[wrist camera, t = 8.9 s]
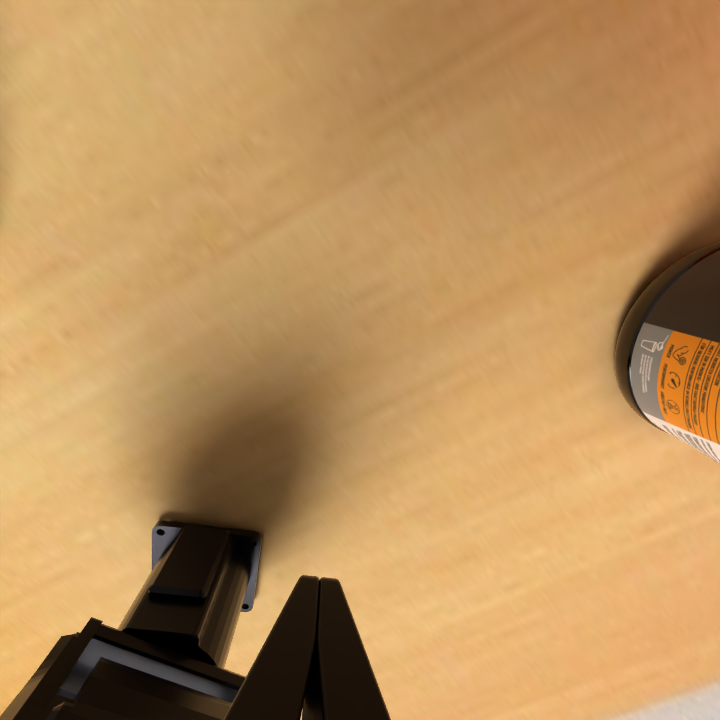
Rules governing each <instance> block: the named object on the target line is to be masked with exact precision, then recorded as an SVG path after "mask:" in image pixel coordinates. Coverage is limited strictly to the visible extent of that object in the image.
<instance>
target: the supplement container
mask: <svg viewBox="0 0 720 720" xmlns="http://www.w3.org/2000/svg"><path fill="white" fill-rule="evenodd" d="M615 373H616V379H617V383H618V386H619V388H620V391H621V393H622V395H623V397H624V398H625V400H626V402H627V403H628V404H629V406H630V407H631V408H632V409H633V410H634V411H635V412H636V413H637V414H638V415H639V416H640V417H641V418H643V419H644V420H645V421H647V422H648V423H650V424H651V425H653V426H655V427H656V428H658V429H660V430H662V431H665V432H667V433H669V434H671V435H673V436H674V437H676V438H678V439H679V440H681V441H683V442H684V443H686V444H688V445H690V446H691V447H693V448H695V449H696V450H698V451H700V452H701V453H703V454H705V455H706V456H708V457H710V458H711V459H713V460H715V461H716V462H718V463H720V241H719V242H716V243H714V244H711V245H708V246H705V247H703V248H701V249H699V250H696V251H694V252H692V253H690V254H688V255H687V256H685V257H683V258H681V259H680V260H678V261H677V262H675V263H674V264H672V265H671V266H670V267H668V268H667V269H666V270H665V271H663V272H662V273H661V274H660V275H659V276H658V277H657V278H655V279H654V280H653V281H652V282H651V283H650V284H649V285H648V287H647V288H646V289H645V290H644V291H643V292H642V293H641V295H640V296H639V297H638V299H637V300H636V301H635V303H634V304H633V306H632V308H631V309H630V311H629V313H628V315H627V316H626V318H625V320H624V323H623V325H622V327H621V330H620V333H619V336H618V340H617V344H616V350H615Z"/></svg>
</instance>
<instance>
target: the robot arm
mask: <svg viewBox="0 0 720 720" xmlns="http://www.w3.org/2000/svg"><path fill="white" fill-rule="evenodd" d="M161 529H162V530H161ZM252 540H255V541H252ZM261 546H262V536H261V534H259V533H258V532H253V531H244V530H236V529H228V528H220V527H211V526H203V525H195V524H187V523H178V522H170V521H159V522H158V523H157V524H156V525H155V526H154V528H153V530H152V572H151V574H150V575H149V577H148V579H147V580H146V582H145V584H144V585H143V587H142V589H141V590H140V592H139V594H138V595H137V597H136V599H135V601H134V602H133V604H132V606H131V607H130V609H129V611H128V612H127V614H126V616H125V617H124V619H123V621H122V622H121V624H120V626H119V628H118V629H115V628H112V627H109V626H107V625H104V624H101V623H102V622H103V621H101V620H98V619H95V618H93V617H91V619H90V620H89V622H88V623H87V624H86V626H85V627H84V629H83V630H82V632H81V633H79V632H77V633H76V634H72V635H66V636H61V638H60V639H59V640H58V642H57V643H56V645H55V646H54V647H53V649H52V650H51V651H50V653H49V654H48V656H47V657H46V658H45V660H44V661H43V663H42V664H41V665H40V667H39V668H38V669H37V671H36V672H35V673H34V675H33V676H32V677H31V679H30V680H29V681H28V683H27V684H26V685H25V686H24V688H23V689H22V690H21V691H20V693H19V694H18V695H17V696H16V697H15V699H14V700H13V701H12V702H11V704H10V705H9V706H8V707H7V709H6V710H5V711H4V712H3V714H2V715H1V716H0V720H300V717H301V712H302V708H303V712H302V720H391V719H390V716H389V713H388V710H387V708H386V705H385V702H384V700H383V697H382V694H381V692H380V689H379V686H378V683H377V681H376V678H375V675H374V673H373V670H372V667H371V665H370V662H369V659H368V656H367V654H366V651H365V648H364V646H363V643H362V640H361V638H360V635H359V632H358V630H357V627H356V624H355V621H354V619H353V616H352V613H351V611H350V608H349V605H348V603H347V600H346V597H345V594H344V592H343V589H342V586H341V584H340V582H339V580H338V579H334V578H325V577H323V578H321V579H320V581H319V578H318V577H316V576H307V575H302V576H301V577H300V578H299V580H298V582H297V583H296V585H295V587H294V589H293V591H292V593H291V595H290V596H289V598H288V600H287V602H286V604H285V606H284V608H283V609H282V611H281V613H280V615H279V617H278V619H277V621H276V623H275V624H274V626H273V628H272V630H271V632H270V634H269V636H268V637H267V639H266V641H265V643H264V645H263V647H262V649H261V650H260V652H259V654H258V656H257V658H256V660H255V662H254V663H253V665H252V667H251V669H250V671H249V673H248V675H247V676H246V677H245V676H242V675H239V674H237V673H234V672H231V671H228V670H226V669H224V667H225V663H226V660H227V656H228V653H229V649H230V646H231V642H232V639H233V635H234V632H235V628H236V625H237V621H238V618H239V615H240V612H248V611H250V610H252V608H253V604H254V599H255V591H256V583H257V576H258V568H259V561H260V553H261Z"/></svg>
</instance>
